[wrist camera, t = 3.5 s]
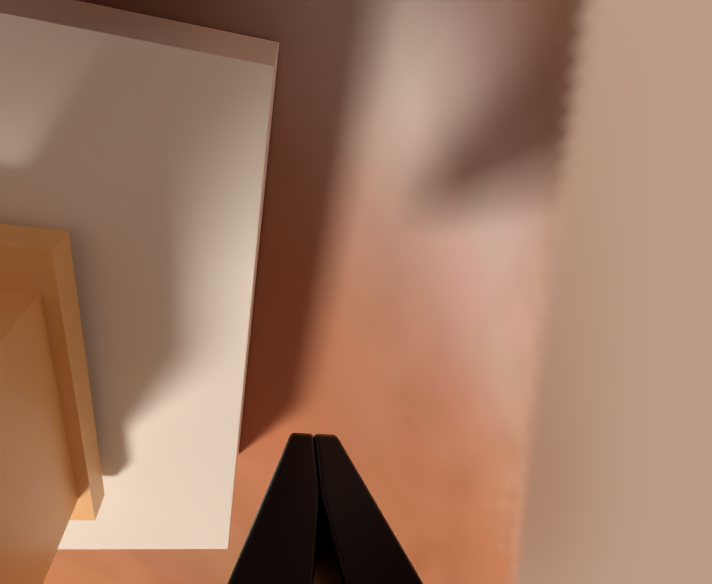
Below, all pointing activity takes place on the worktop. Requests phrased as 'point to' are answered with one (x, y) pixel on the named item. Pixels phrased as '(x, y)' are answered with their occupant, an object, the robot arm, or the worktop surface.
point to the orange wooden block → (42, 404)
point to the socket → (146, 242)
